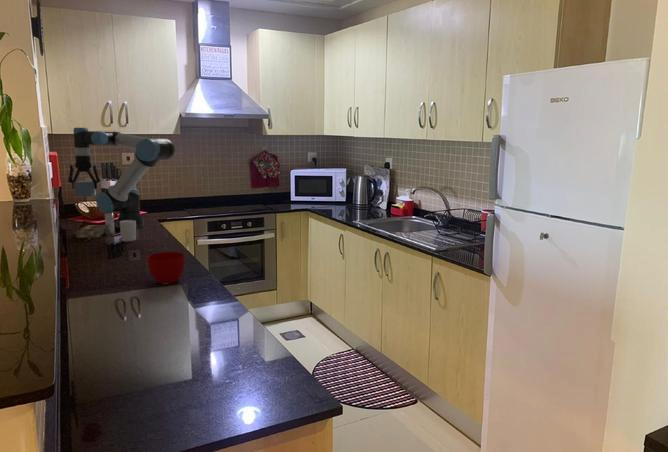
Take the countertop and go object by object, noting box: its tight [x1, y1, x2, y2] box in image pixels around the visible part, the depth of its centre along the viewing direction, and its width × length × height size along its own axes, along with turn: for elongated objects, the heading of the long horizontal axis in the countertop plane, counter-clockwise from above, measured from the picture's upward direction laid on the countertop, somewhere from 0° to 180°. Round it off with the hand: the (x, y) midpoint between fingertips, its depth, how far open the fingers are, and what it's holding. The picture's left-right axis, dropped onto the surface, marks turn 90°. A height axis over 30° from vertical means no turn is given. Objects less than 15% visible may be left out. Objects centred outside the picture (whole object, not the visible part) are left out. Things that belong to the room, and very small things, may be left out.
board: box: [75, 224, 106, 239], centre depth 271 cm, size 11×20×3 cm, turn 10°
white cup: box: [119, 220, 137, 243], centre depth 255 cm, size 8×8×10 cm
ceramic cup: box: [147, 251, 185, 284], centre depth 184 cm, size 13×17×10 cm
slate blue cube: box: [73, 180, 95, 198], centre depth 283 cm, size 9×9×8 cm
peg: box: [104, 212, 116, 237], centre depth 268 cm, size 4×4×12 cm
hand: (85, 194), depth 284 cm, fingers closed on slate blue cube, 9 cm apart
